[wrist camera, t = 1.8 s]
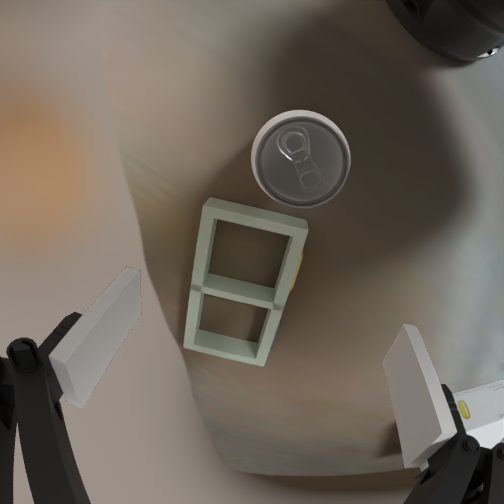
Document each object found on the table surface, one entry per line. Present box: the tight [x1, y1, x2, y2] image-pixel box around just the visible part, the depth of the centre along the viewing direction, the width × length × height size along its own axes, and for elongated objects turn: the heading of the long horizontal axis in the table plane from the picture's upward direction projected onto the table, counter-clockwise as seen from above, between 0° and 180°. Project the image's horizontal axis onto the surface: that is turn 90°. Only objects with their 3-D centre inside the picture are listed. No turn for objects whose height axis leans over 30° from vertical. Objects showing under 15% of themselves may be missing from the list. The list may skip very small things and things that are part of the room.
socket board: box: [183, 197, 309, 367], centre depth 34 cm, size 10×18×3 cm, turn 167°
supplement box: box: [420, 379, 504, 472], centre depth 39 cm, size 17×13×9 cm
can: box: [251, 110, 351, 209], centre depth 23 cm, size 6×6×12 cm
